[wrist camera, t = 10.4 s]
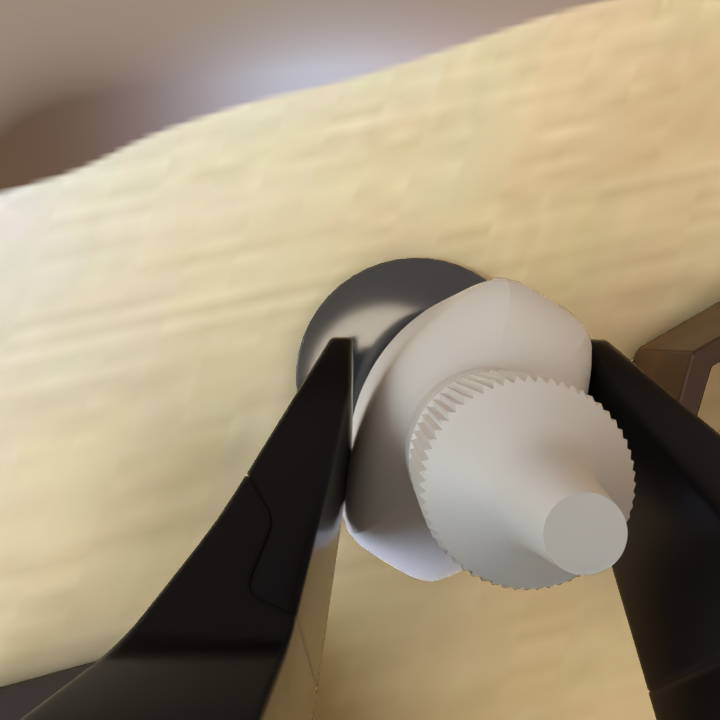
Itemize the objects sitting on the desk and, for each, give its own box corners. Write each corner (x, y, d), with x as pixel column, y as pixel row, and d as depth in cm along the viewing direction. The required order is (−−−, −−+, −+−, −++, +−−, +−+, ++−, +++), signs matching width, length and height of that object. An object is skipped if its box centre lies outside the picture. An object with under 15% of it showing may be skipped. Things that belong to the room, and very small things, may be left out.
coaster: (398, 540, 18) (399, 545, 18) (248, 362, 18) (246, 362, 17) (580, 394, 18) (585, 395, 17) (432, 210, 18) (434, 207, 17)
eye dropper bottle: (310, 374, 16) (157, 470, 4) (462, 288, 16) (765, 127, 4) (377, 491, 16) (416, 915, 4) (528, 407, 16) (1014, 597, 4)
